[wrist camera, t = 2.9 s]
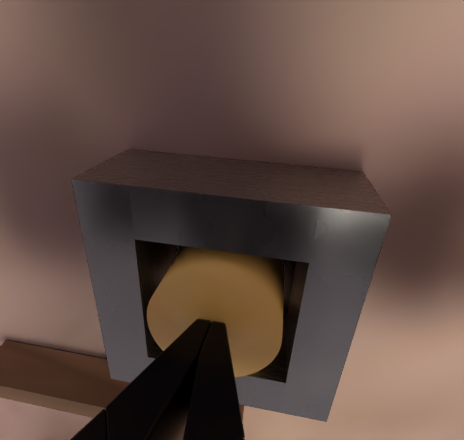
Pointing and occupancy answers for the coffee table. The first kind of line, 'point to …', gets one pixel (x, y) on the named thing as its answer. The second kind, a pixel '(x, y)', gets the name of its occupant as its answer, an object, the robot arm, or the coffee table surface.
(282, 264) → the button
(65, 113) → the coffee table surface
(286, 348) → the button housing
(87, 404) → the brown wooden u-shaped frame
